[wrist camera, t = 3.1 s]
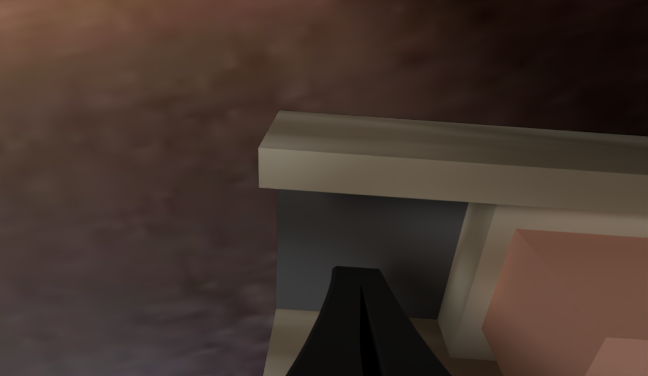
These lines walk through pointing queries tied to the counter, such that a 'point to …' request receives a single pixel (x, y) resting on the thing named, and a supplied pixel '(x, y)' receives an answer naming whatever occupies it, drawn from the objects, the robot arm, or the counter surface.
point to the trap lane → (432, 215)
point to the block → (571, 306)
